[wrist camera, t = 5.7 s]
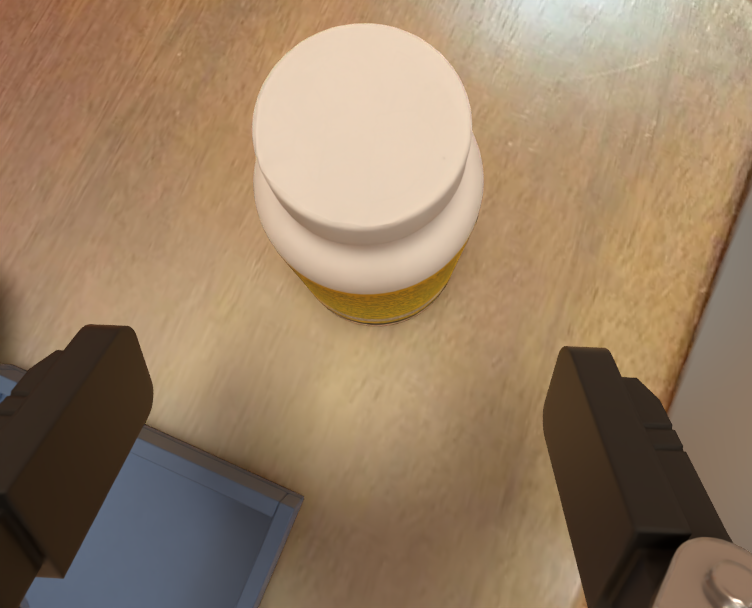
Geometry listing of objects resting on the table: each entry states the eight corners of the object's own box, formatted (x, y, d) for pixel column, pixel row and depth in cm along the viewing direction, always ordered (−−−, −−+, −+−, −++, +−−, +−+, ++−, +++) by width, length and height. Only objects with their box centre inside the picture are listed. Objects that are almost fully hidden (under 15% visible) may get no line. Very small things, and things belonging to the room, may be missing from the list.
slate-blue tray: (304, 496, 21) (295, 508, 19) (155, 851, 19) (126, 909, 17) (11, 364, 22) (-29, 362, 20) (-154, 688, 20) (-217, 722, 18)
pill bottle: (481, 280, 22) (570, 174, 11) (348, 356, 21) (302, 325, 10) (404, 156, 23) (415, -59, 12) (276, 226, 22) (164, 74, 11)
